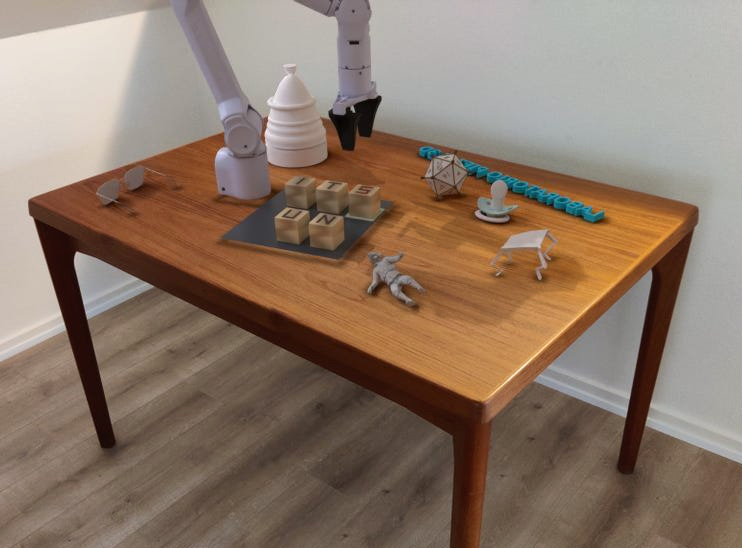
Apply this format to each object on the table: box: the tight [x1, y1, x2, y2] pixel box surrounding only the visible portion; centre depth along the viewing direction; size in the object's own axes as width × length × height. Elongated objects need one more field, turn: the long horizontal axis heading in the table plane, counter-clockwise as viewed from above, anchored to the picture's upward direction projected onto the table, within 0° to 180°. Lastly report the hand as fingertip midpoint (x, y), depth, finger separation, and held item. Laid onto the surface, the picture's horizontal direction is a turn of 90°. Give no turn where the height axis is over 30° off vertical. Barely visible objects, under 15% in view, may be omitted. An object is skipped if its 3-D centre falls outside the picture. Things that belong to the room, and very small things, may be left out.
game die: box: [419, 149, 473, 201], centre depth 135 cm, size 9×8×10 cm
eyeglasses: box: [95, 165, 179, 215], centre depth 139 cm, size 14×8×4 cm, turn 155°
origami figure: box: [489, 229, 559, 281], centre depth 112 cm, size 12×8×5 cm
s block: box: [348, 183, 381, 219], centre depth 128 cm, size 4×4×4 cm
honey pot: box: [264, 63, 328, 168], centre depth 151 cm, size 13×13×18 cm
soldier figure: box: [366, 251, 427, 307], centre depth 108 cm, size 8×5×12 cm
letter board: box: [219, 175, 395, 261], centre depth 127 cm, size 22×24×5 cm
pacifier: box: [474, 180, 519, 224], centre depth 127 cm, size 7×6×6 cm
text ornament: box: [419, 146, 606, 223], centre depth 141 cm, size 45×3×1 cm, turn 39°
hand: (356, 143), depth 134 cm, fingers open, 7 cm apart
